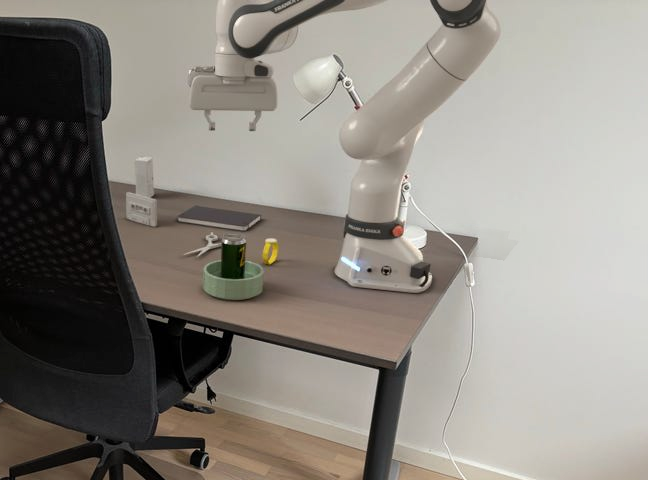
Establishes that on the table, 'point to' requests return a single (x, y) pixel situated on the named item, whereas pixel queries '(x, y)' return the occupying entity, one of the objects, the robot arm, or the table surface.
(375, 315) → the table surface
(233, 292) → the bowl
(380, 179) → the robot arm
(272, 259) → the watch
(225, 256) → the beer can
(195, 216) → the notebook
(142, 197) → the cassette
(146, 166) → the cosmetic box
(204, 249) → the scissors
